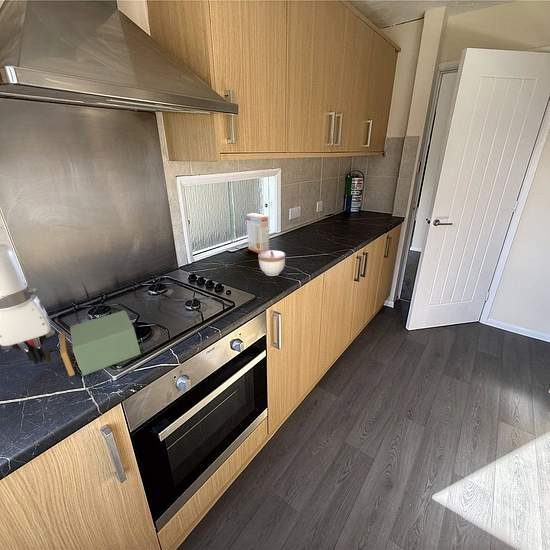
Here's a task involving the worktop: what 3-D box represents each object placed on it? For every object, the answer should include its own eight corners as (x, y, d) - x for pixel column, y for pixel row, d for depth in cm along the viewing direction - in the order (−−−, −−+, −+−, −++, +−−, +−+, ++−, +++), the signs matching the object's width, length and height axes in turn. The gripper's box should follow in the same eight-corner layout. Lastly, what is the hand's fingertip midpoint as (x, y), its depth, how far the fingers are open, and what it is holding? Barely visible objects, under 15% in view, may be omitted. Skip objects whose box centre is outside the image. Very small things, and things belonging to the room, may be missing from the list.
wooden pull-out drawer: (49, 384, 74) (39, 361, 71) (49, 360, 83) (40, 339, 80) (125, 355, 84) (119, 334, 81) (118, 337, 92) (112, 317, 89)
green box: (83, 376, 78) (72, 348, 74) (79, 352, 87) (69, 326, 84) (140, 354, 85) (134, 327, 82) (131, 334, 95) (125, 310, 91)
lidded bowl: (276, 280, 131) (275, 257, 126) (253, 274, 137) (252, 252, 133) (290, 270, 140) (290, 248, 136) (268, 266, 147) (267, 245, 142)
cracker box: (270, 253, 165) (268, 216, 157) (261, 255, 162) (259, 217, 154) (256, 247, 176) (254, 212, 167) (248, 249, 172) (245, 213, 164)
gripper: (48, 283, 75) (71, 342, 83) (-30, 301, 68) (3, 364, 75) (49, 293, 70) (73, 355, 77) (-37, 314, 62) (-1, 381, 69)
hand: (38, 360), depth 76 cm, fingers closed
